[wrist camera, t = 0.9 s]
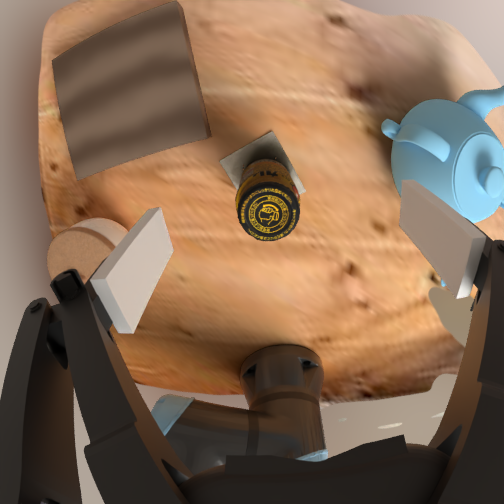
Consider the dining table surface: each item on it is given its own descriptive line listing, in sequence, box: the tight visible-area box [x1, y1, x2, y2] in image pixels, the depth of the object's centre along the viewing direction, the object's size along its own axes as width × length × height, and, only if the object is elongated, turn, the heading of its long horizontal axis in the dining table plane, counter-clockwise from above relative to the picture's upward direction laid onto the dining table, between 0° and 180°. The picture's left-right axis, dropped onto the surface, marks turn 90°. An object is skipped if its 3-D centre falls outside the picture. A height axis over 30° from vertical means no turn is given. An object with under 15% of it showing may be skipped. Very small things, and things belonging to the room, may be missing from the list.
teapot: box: [381, 86, 504, 286], centre depth 25 cm, size 16×20×14 cm
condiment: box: [219, 131, 306, 241], centre depth 28 cm, size 7×8×12 cm
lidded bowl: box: [47, 218, 128, 284], centre depth 33 cm, size 13×13×11 cm
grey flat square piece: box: [52, 0, 212, 180], centre depth 27 cm, size 18×18×3 cm
